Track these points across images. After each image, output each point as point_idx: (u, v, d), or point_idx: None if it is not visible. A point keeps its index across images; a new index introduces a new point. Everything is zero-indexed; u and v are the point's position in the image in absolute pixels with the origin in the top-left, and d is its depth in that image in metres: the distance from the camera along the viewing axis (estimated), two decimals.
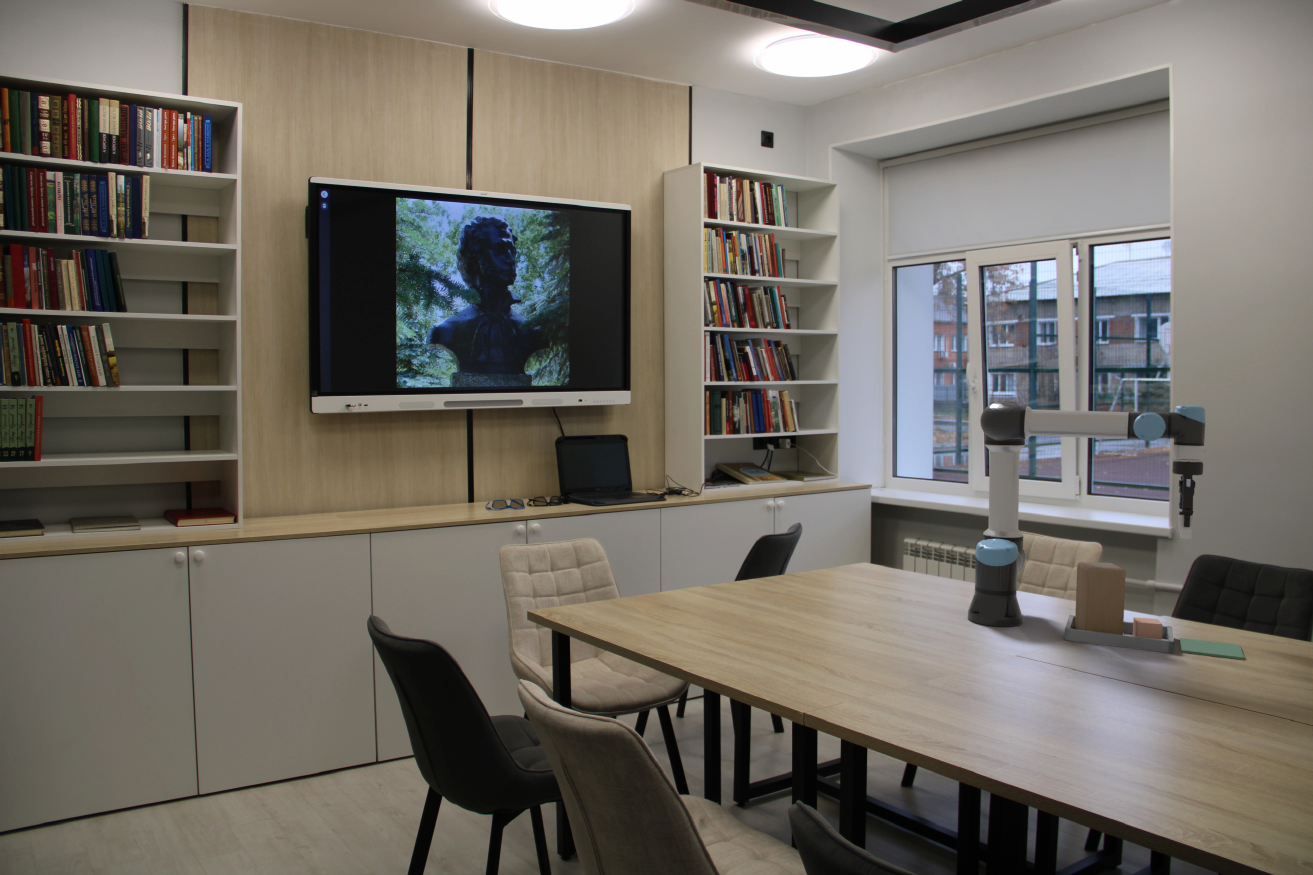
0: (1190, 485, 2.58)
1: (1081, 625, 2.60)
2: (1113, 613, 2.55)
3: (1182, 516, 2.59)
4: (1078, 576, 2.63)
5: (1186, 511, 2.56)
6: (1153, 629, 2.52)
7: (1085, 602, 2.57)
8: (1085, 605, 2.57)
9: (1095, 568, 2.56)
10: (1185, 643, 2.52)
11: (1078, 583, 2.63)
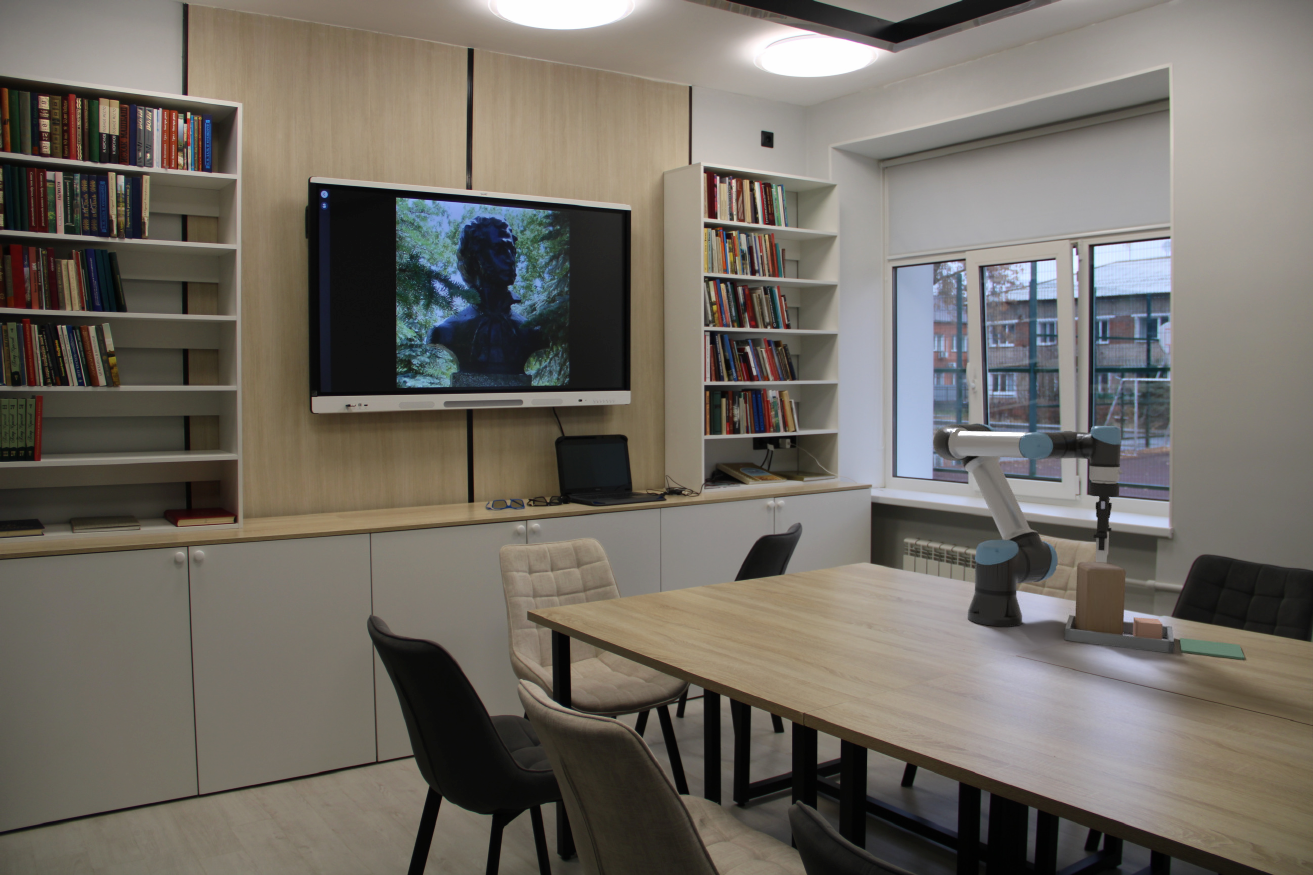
0: (1104, 507, 2.53)
1: (1081, 625, 2.60)
2: (1113, 613, 2.55)
3: (1097, 539, 2.54)
4: (1078, 576, 2.63)
5: (1100, 534, 2.51)
6: (1153, 629, 2.52)
7: (1085, 602, 2.57)
8: (1085, 605, 2.57)
9: (1095, 568, 2.56)
10: (1185, 643, 2.52)
11: (1078, 583, 2.63)
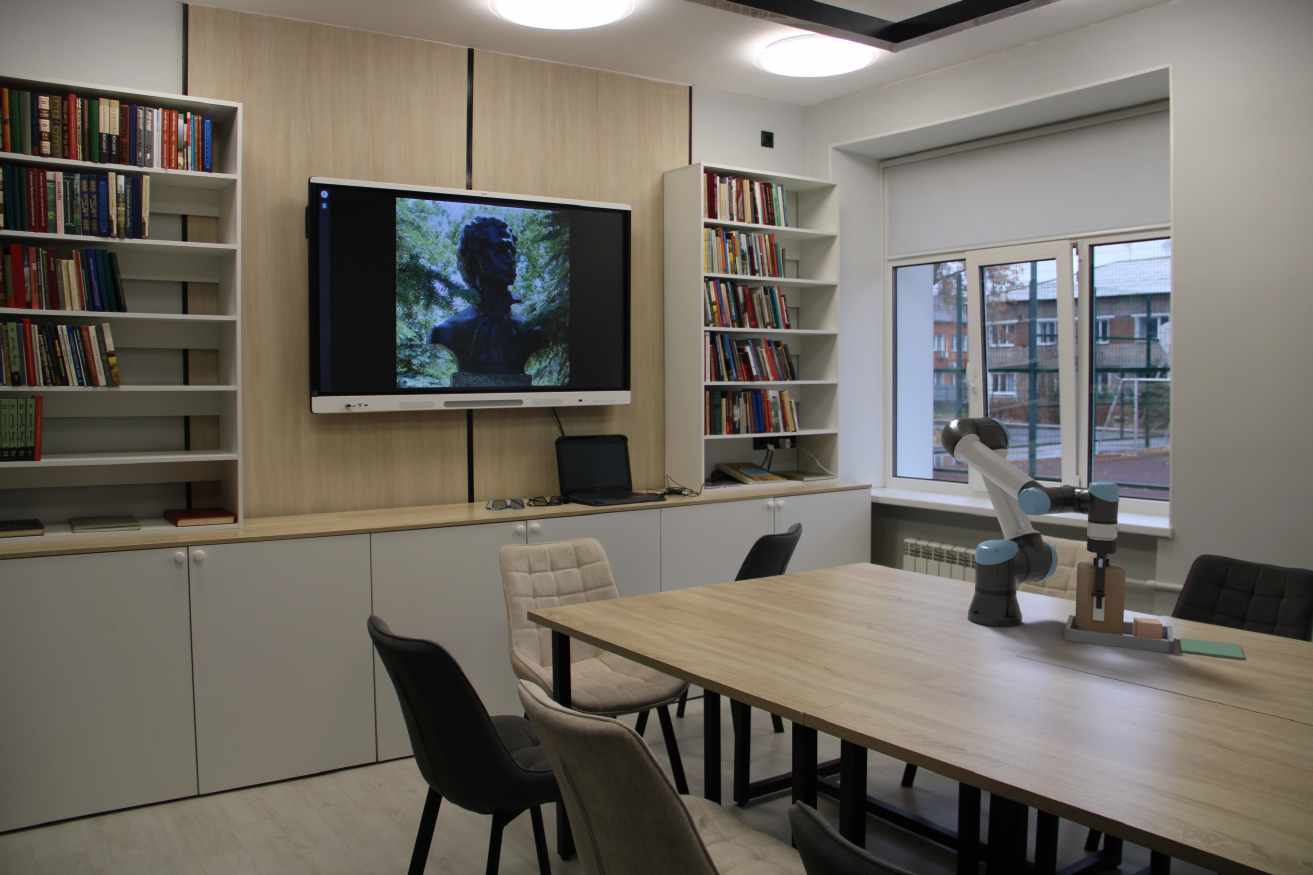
0: (1102, 566, 2.54)
1: (1081, 625, 2.60)
2: (1113, 613, 2.55)
3: (1094, 597, 2.55)
4: (1078, 576, 2.63)
5: (1097, 593, 2.52)
6: (1153, 629, 2.52)
7: (1085, 602, 2.57)
8: (1085, 605, 2.57)
9: None
10: (1185, 643, 2.52)
11: (1078, 583, 2.63)
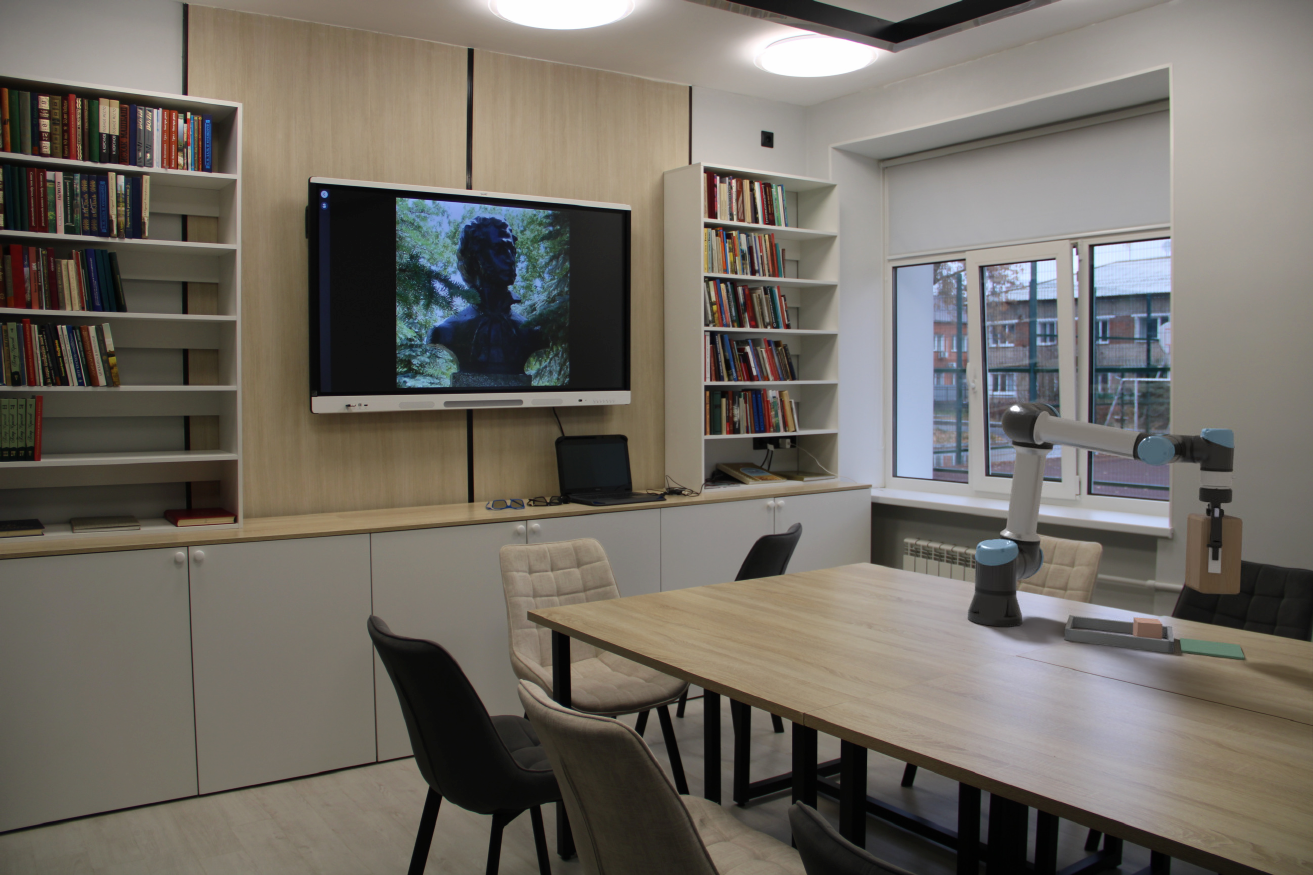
0: (1219, 515, 2.41)
1: (1194, 578, 2.47)
2: (1230, 565, 2.42)
3: (1210, 549, 2.42)
4: (1189, 528, 2.50)
5: (1214, 544, 2.39)
6: (1153, 629, 2.52)
7: (1199, 554, 2.44)
8: (1199, 557, 2.44)
9: (1210, 518, 2.43)
10: (1185, 643, 2.52)
11: (1189, 535, 2.50)
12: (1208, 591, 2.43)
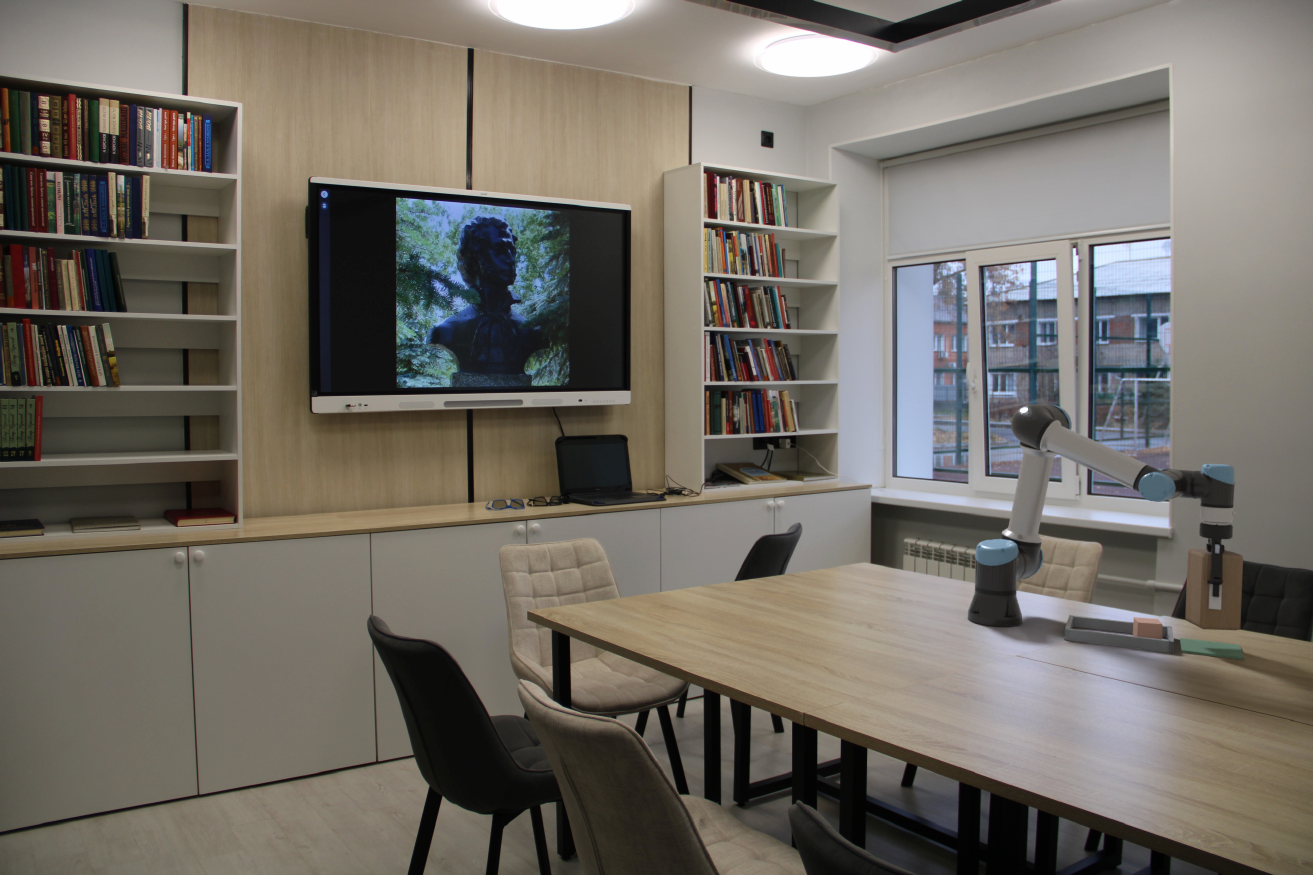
0: (1219, 552, 2.41)
1: (1194, 614, 2.47)
2: (1230, 601, 2.43)
3: (1211, 585, 2.42)
4: (1189, 563, 2.51)
5: (1215, 580, 2.39)
6: (1153, 629, 2.52)
7: (1200, 590, 2.45)
8: (1200, 593, 2.45)
9: None
10: (1185, 643, 2.52)
11: (1189, 570, 2.51)
12: (1209, 627, 2.44)
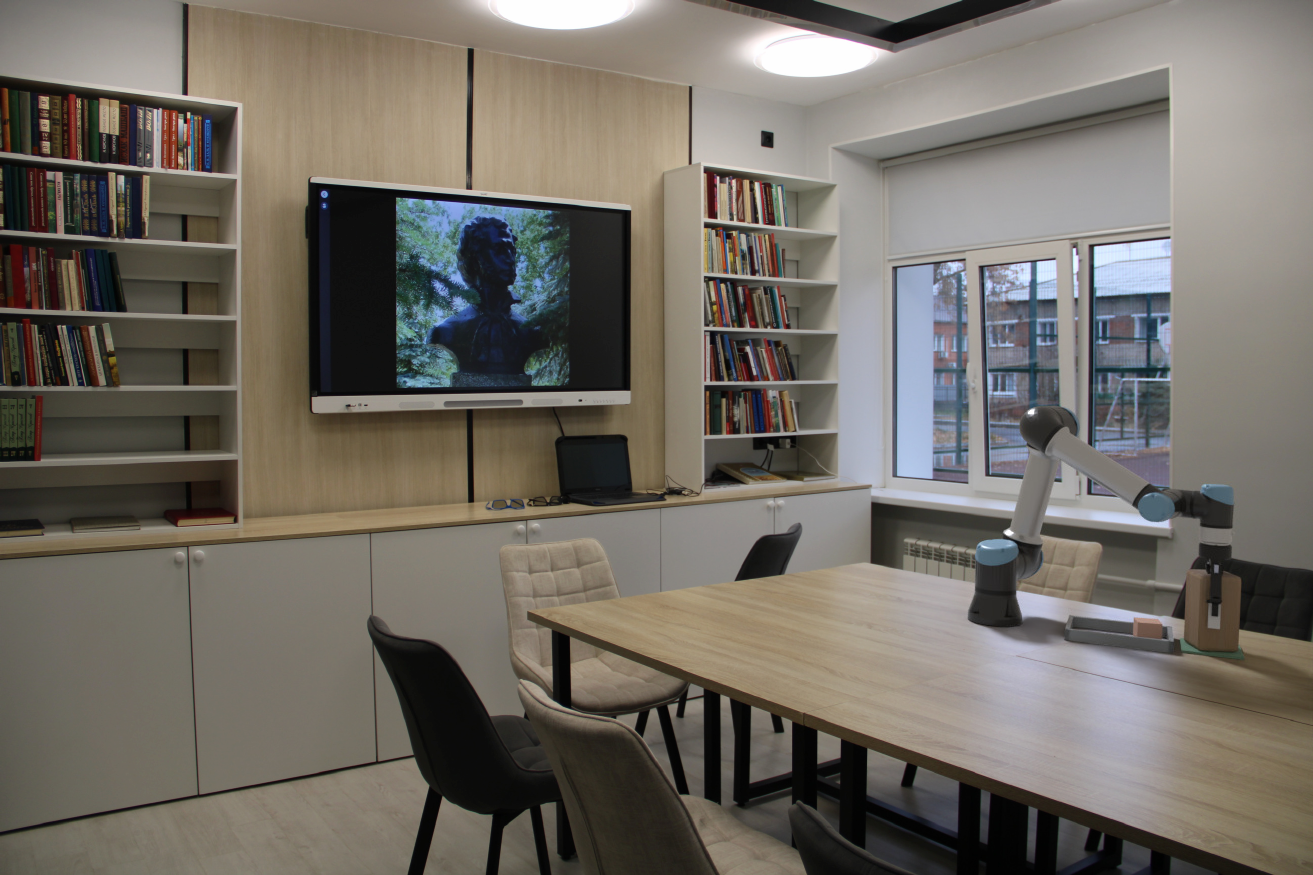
0: (1218, 571, 2.41)
1: (1193, 635, 2.48)
2: (1228, 623, 2.43)
3: (1210, 604, 2.42)
4: (1188, 584, 2.51)
5: (1214, 600, 2.39)
6: (1153, 629, 2.52)
7: (1198, 611, 2.45)
8: (1198, 614, 2.45)
9: (1209, 576, 2.44)
10: (1185, 643, 2.52)
11: (1188, 591, 2.51)
12: (1207, 649, 2.44)
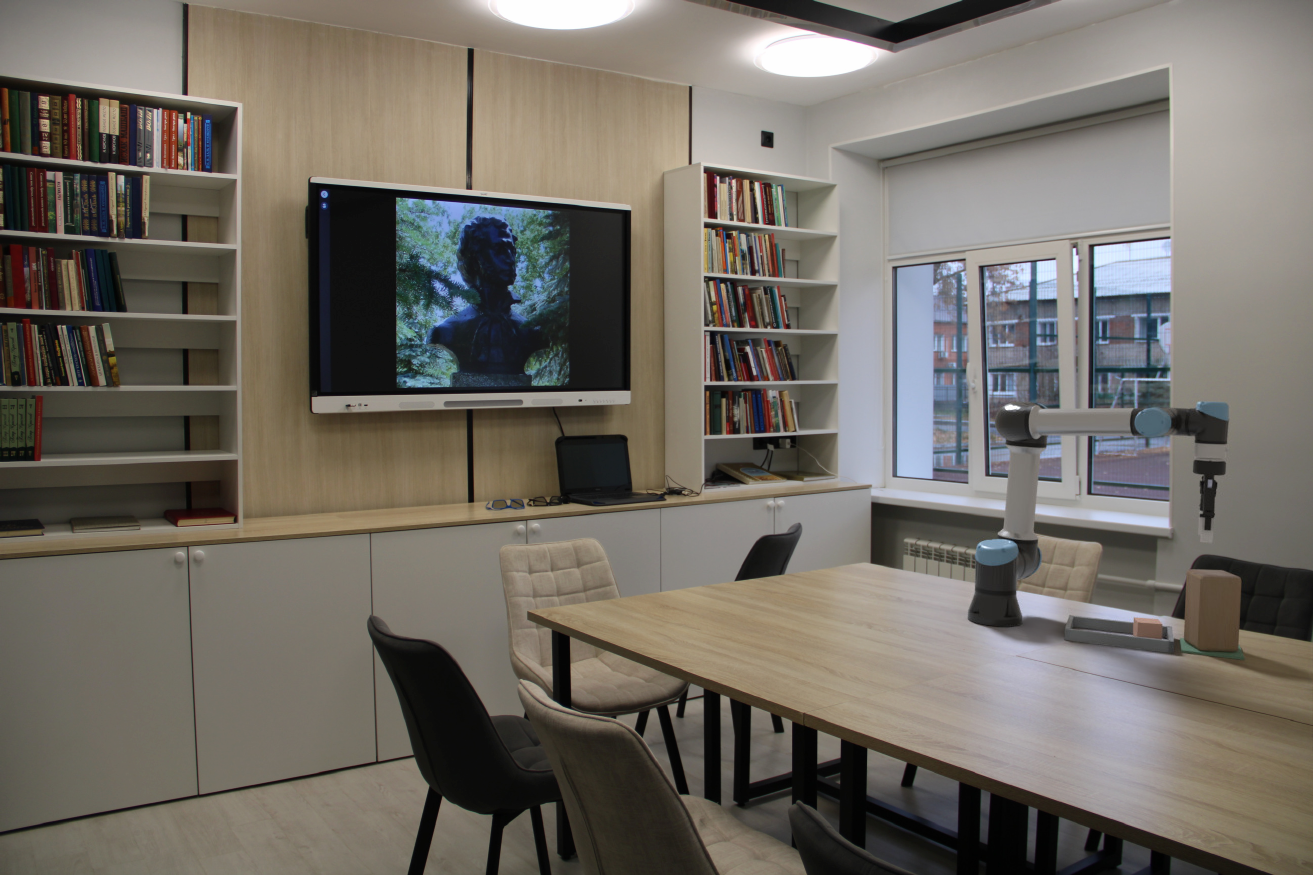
0: (1212, 486, 2.43)
1: (1193, 635, 2.48)
2: (1228, 623, 2.43)
3: (1203, 519, 2.44)
4: (1188, 584, 2.51)
5: (1207, 513, 2.41)
6: (1153, 629, 2.52)
7: (1198, 611, 2.45)
8: (1198, 614, 2.45)
9: (1209, 576, 2.44)
10: (1185, 643, 2.52)
11: (1188, 591, 2.51)
12: (1207, 649, 2.44)
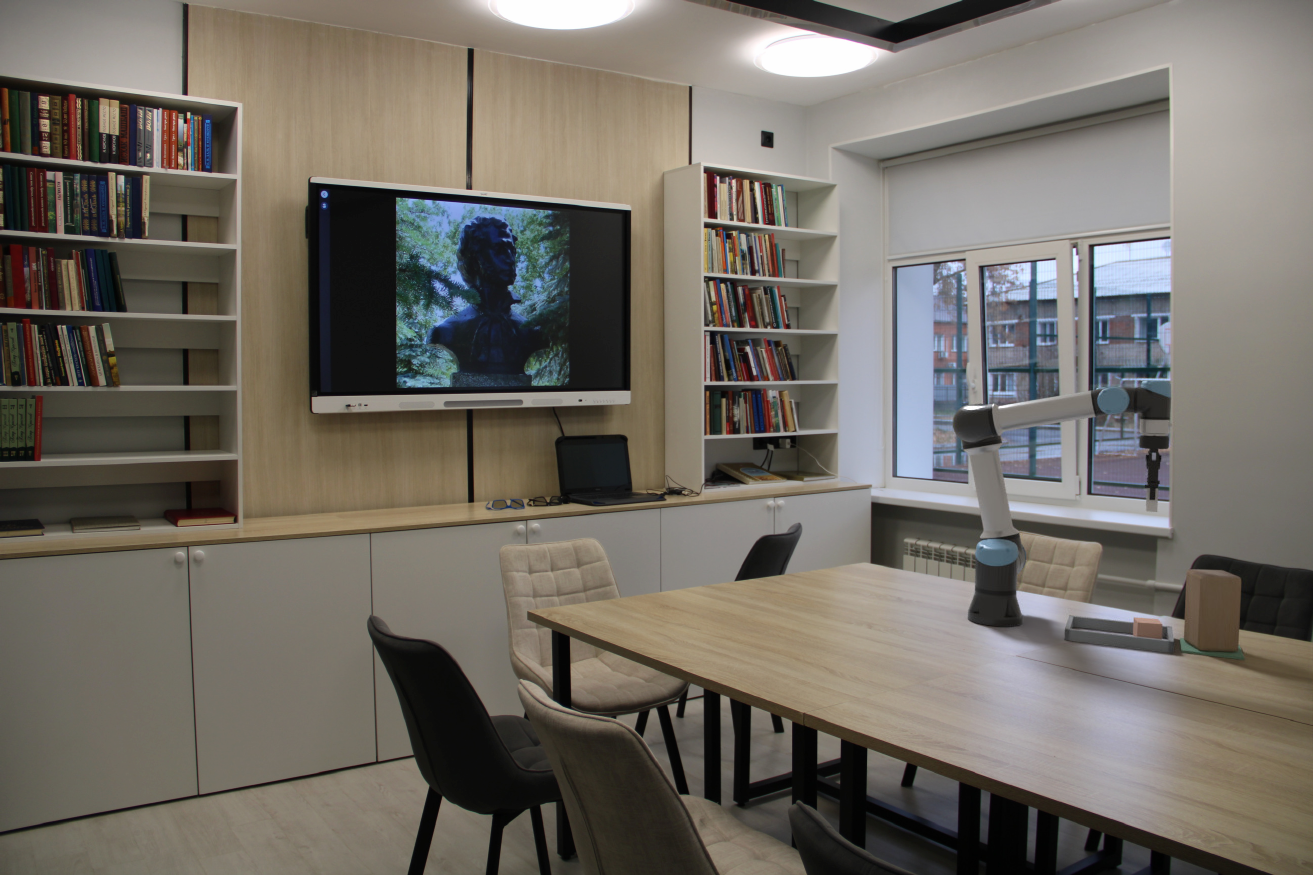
0: (1155, 458, 2.61)
1: (1193, 635, 2.48)
2: (1228, 623, 2.43)
3: (1148, 489, 2.62)
4: (1188, 584, 2.51)
5: (1151, 484, 2.59)
6: (1153, 629, 2.52)
7: (1198, 611, 2.45)
8: (1198, 614, 2.45)
9: (1209, 576, 2.44)
10: (1185, 643, 2.52)
11: (1188, 591, 2.51)
12: (1207, 649, 2.44)
